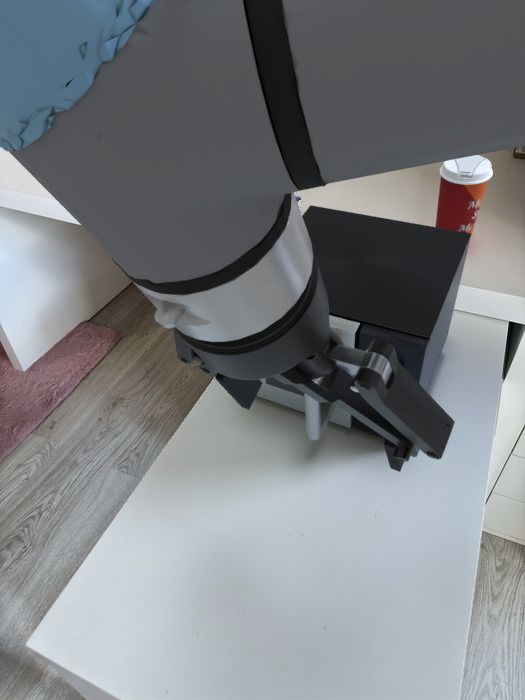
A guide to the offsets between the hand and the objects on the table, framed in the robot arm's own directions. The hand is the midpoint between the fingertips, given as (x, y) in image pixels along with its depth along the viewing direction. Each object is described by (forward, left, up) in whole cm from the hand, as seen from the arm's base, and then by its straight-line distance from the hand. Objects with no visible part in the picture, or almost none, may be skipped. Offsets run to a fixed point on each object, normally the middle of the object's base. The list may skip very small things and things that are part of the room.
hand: (321, 422), depth 42 cm
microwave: (+6, -25, -21) cm, 34 cm away
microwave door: (+10, -12, -21) cm, 26 cm away
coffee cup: (0, -60, -22) cm, 64 cm away
